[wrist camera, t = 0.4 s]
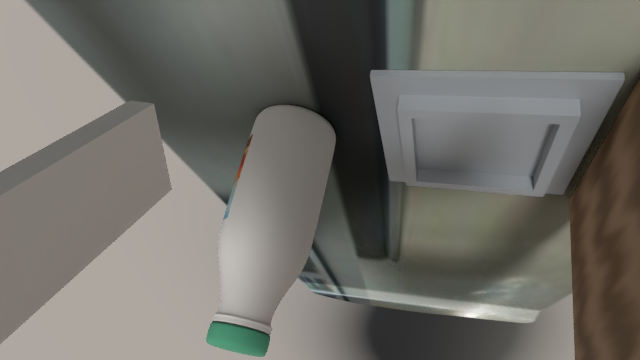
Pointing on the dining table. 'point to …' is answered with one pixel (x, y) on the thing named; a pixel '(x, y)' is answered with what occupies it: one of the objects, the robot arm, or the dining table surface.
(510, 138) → the grey square tray
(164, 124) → the dining table surface
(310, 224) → the milk bottle
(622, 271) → the overhang shelf
